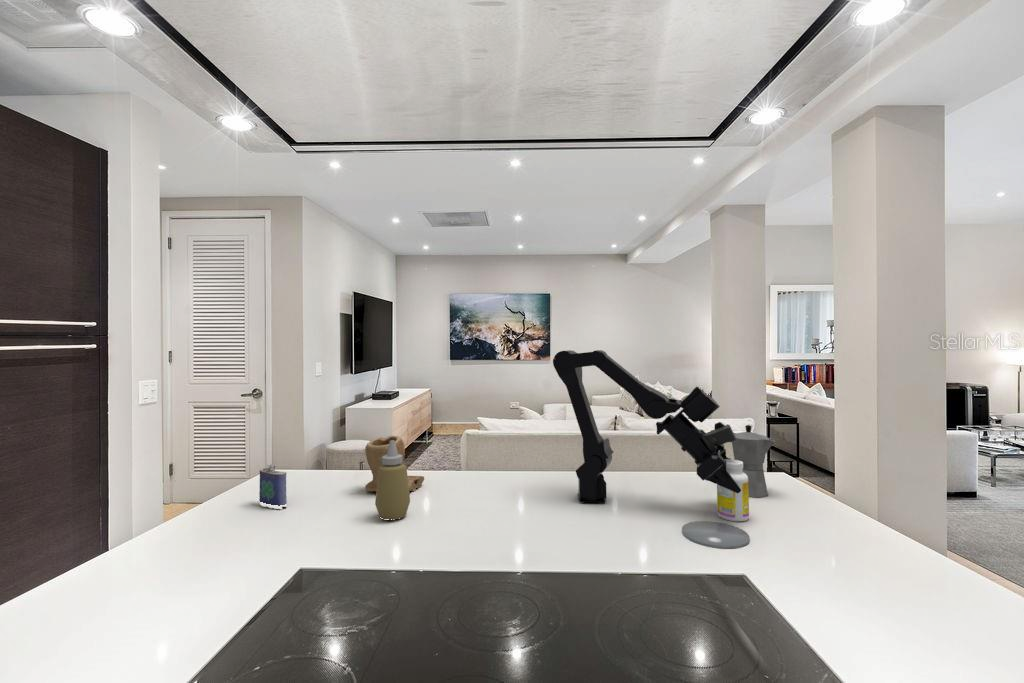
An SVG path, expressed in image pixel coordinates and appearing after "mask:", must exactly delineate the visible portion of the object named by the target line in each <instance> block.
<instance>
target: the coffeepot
mask: <svg viewBox="0 0 1024 683" xmlns="http://www.w3.org/2000/svg"><path fill="white" fill-rule="evenodd" d="M744 427H745V430H746V431H742V432H734V431H733V433H734V435H735V438H736V440H735V441H732V442H731V446H732V452H733V460H739V461H742V462H743V469H742V472H743V473H745V474H746V475H747V476H748V490H749V498H755V499H758V498H759V499H760V498H761V499H762V498H765V497H767V496H768V495H769V493H768V488H767V482H766V478H765V477H766V476H765V471H764V463H765V460H766V454H767V453H768V451H769V450H770V448H771V447H772V446H773V445H774V444H775V443H777V442H776V440H775V439H773V438H770V437H767V435H764V434H759V433H755V432H752V427H753V426H752V425H750V424H747V425H744ZM724 449H725V448H724ZM724 449H723V450H724ZM723 450H722V449H720V450H719V452H720V453H721V452H722V451H723ZM726 459H732V458H730V457H727V456H726Z"/></svg>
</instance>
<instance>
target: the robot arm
mask: <svg viewBox="0 0 1024 683" xmlns="http://www.w3.org/2000/svg"><path fill="white" fill-rule="evenodd" d="M552 365H553V368H554V370H555V372H556V373H557V376H558V377H559V379H560V380H561V381H562V383H563V384H564V385H565V387H566V389H567V393H568V396H569V400H570V404H571V406H572V409H573V412H574V415H575V418H576V422H577V424H578V428H579V431H580V434H581V437H582V455H583V456H582V457H583V461H584V462H583V463H582V464H581V465H580V466H579V467H578V468H577V469H575V474H576V477H577V481H578V484H577V486H578V493H577V498H578V502H579V501H580V502H598V503H597V504H606V503H605V502H607V501H606V500H607V482H606V480H605V476H604V474H603V473H604V472H605V470H606V469H607V468H608V467H609V466H610V464H611V463H612V461H613V454H614V451H613V449H612V446H611V442H610V439H609V437H606V438H603V437H602V436H601V434H600V432H599V429H598V425H597V422H596V420H595V417H594V413H593V411H592V408H591V405H590V402H589V398H588V395H587V392H586V389H585V386H584V382H583V368H584V367H593V366H594V367H596V368H598V369H599V370H600V371H601V372H602V373H603V374H605V375H606V376H607V377H608V378H610V379H611V380H612V381H614V382H615V383H616V384H617V385H618V386H619V387H621V388H622V389H623V390H624V391H625V392H627V393H628V394H629V395H630V396H631V397H632V398H633V399H634V400H635V402H636V404H637V405H638V406H639V407H640V408H641V410H642V411H643V412H644V413H645V415H647V417H649V418H651V419H655V420H658V419H663V418H664V417H665V416H666V418H665V419H664V420H662V421H656V423H655V426H656V434H657V435H660V434H661V433H662V432H663V431H666V432H667V433H668V434H669V436H670V437H672V439H674V441H675V442H676V443H677V444H679V446H680V447H681V450H682V451H683V452H687V454H688V455H689V456H690V457H692V459H693V460H694V463H695V464H696V475H697V476H698V477H699V478H700V479H701V480H702V481H706V482H711V483H713V484H715V485H716V486H717V485H720V486H722V487H724V488H727V489H729V490H731V491H733V492H736V493H739V492H741V489H740V487H739V486H738V485H737V483H736V482H735V481H734V479H733V478H732V476H731V475H730V474H729V472H728V471H727V469H726V460H724V459H726V457H727V449H725V445H724V444H727V443H732V441H735V440H736V438H735V435H734V433H735V432H734V431H733V429H732V427H731V425H730V424H726V425H725V424H724V423H723V422H721V421H719V422H717V423H714V429H713V430H712V429H711V430H710V431H707V432H706V431H705V430H704V429H699V428H698V427H697V426H695V424H694V423H698V422H700V423H703V422H705V420H706V419H708V418H709V417H710V416H711V415H712V414H713V413H715V412H716V410H718V409H719V408H720V405H719V403H717V401H716V400H715V399H714V398H713V397H712V396H711V395H710V394H707V392H705V391H704V390H702V388H700V387H699V386H695V387H694V388H693V389H692V391H691V392H690V393H689V394H687V396H686V397H685V398H684V399H682V400H679V399H676V398H669V397H668V396H667V395H666V394H665V393H663V392H661V391H660V390H657V389H655V388H653V387H651V386H649V385H647V384H645V383H643V382H642V381H641V380H639V379H638V378H637V377H635V376H634V375H633V374H632V373H630V371H628V370H627V369H626V368H624V367H623V366H622V365H621V364H619V363H618V362H617V361H615V360H614V359H613V358H612V357H611V356H609V355H608V354H607V352H606V351H605V350H602V349H601V350H600V349H598V350H597V349H596V350H593V351H588V352H579V353H578V352H576V351H575V350H560V351H559V352H556V354H554V356H553V359H552ZM681 408H682V409H681ZM680 409H681V410H680ZM679 410H680V411H679ZM678 411H679V412H678ZM676 412H678V413H676ZM673 413H676V414H675V415H672V414H673ZM685 415H686V416H685ZM688 418H689V419H688ZM692 422H693V423H692ZM733 432H734V433H733ZM720 449H722V450H723V449H724V450H723V451H722V452H721V453H720V451H719V450H720ZM580 502H579V503H580Z"/></svg>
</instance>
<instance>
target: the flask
mask: <svg viewBox="0 0 1024 683" xmlns="http://www.w3.org/2000/svg"><path fill="white" fill-rule="evenodd" d="M276 467H277V464H276V463H274V464H271V463H270V464H267V467H265V468H261V469H260V470H259V492H258V494H259V500H258V501H260V502H263V503H266V504H271V505H278V506H280V505H285V504H287V502H288V501H287V472H286V471H279V470H276ZM287 505H288V504H287Z"/></svg>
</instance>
